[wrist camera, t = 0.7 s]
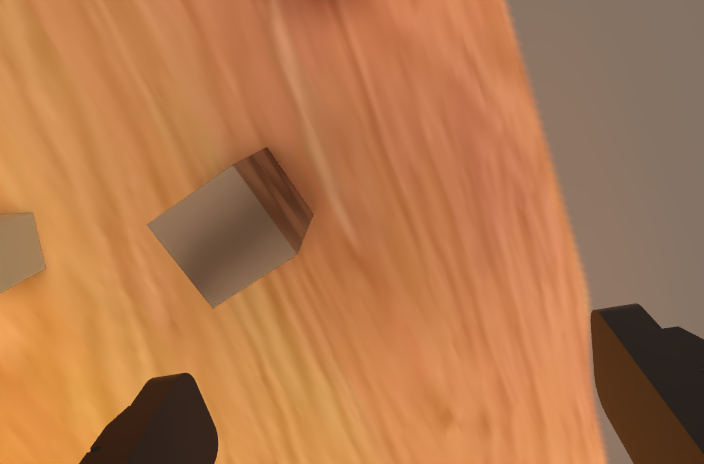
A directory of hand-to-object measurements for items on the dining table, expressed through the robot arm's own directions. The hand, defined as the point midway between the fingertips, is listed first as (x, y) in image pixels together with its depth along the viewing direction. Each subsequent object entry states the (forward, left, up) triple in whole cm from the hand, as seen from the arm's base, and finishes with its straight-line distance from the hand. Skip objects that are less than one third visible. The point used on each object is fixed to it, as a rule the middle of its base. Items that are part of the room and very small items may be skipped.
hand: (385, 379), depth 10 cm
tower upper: (-3, -8, -22) cm, 24 cm away
